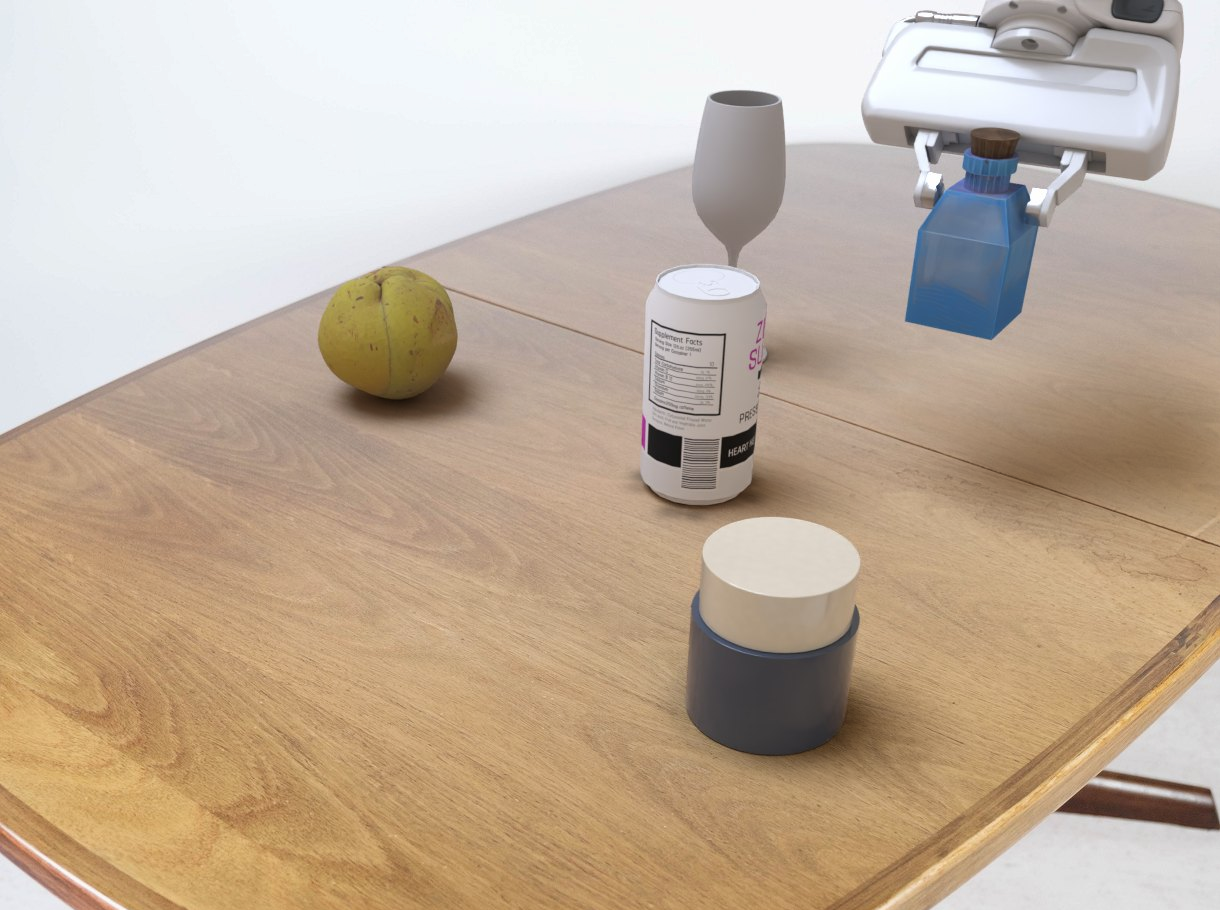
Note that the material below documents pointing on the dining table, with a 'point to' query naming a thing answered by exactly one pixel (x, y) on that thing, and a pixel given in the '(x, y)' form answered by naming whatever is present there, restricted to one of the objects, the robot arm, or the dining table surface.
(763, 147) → the wineglass
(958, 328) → the perfume bottle
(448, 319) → the fruit
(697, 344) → the supplement can
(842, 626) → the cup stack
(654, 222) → the dining table surface
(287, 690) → the dining table surface
